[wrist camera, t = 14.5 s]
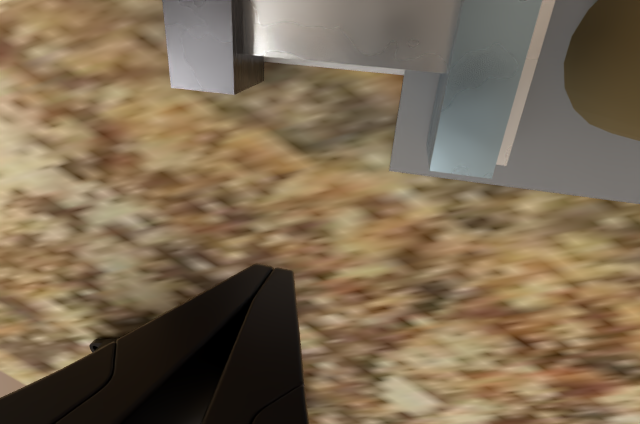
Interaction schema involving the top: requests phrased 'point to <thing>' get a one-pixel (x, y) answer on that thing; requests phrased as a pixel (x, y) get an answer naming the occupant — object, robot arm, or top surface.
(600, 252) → the top surface
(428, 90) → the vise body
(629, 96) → the cork
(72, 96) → the top surface
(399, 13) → the vise jaw
